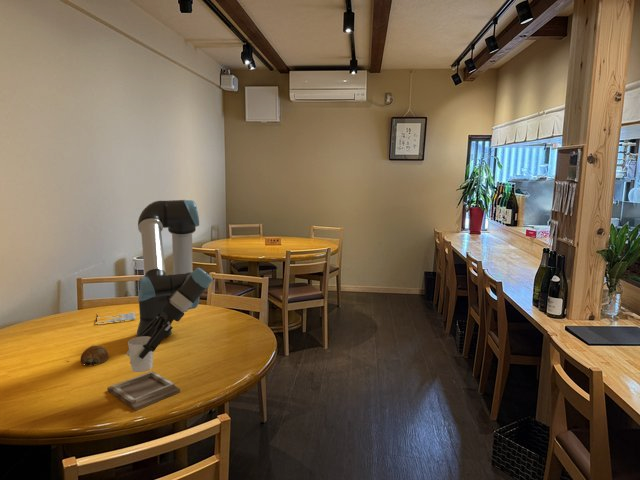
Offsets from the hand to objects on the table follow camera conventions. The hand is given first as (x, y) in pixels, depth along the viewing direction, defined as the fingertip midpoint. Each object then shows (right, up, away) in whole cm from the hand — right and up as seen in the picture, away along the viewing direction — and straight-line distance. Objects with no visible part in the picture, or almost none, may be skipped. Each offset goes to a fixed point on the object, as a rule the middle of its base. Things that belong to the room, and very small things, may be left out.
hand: (130, 360), depth 149 cm
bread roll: (-27, -8, +29) cm, 40 cm away
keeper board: (+3, -12, +4) cm, 13 cm away
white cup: (+3, -4, +2) cm, 5 cm away
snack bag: (-43, 0, +82) cm, 93 cm away
